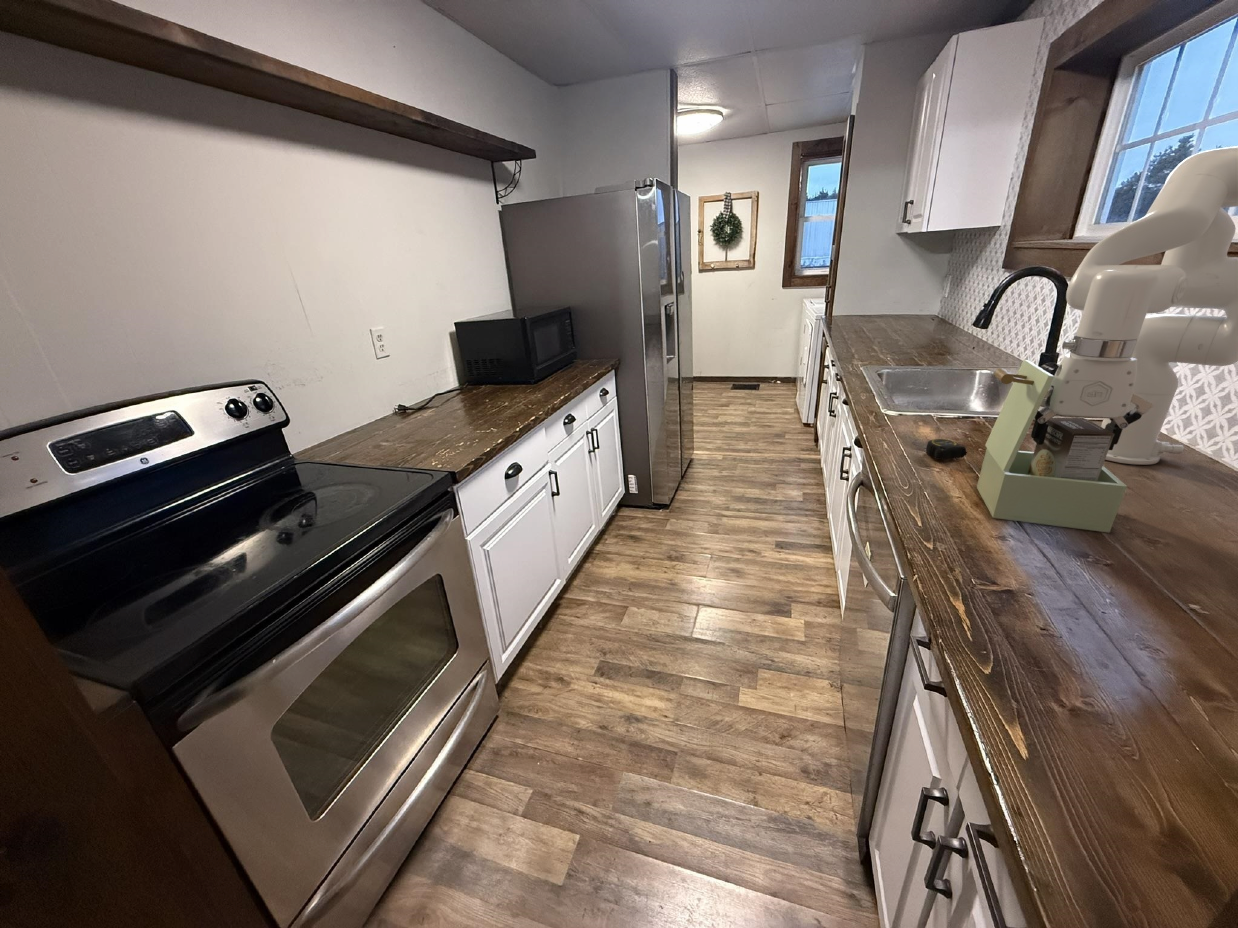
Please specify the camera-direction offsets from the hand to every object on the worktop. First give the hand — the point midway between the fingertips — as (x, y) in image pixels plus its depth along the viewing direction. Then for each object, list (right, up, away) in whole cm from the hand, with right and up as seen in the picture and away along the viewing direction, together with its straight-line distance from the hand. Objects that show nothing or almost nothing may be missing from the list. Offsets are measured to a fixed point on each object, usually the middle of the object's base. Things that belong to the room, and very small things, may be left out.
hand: (1070, 444), depth 89 cm
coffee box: (+1, -11, +5) cm, 12 cm away
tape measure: (-3, -2, +30) cm, 30 cm away
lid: (-8, +6, +1) cm, 10 cm away
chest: (-1, -12, +6) cm, 13 cm away
